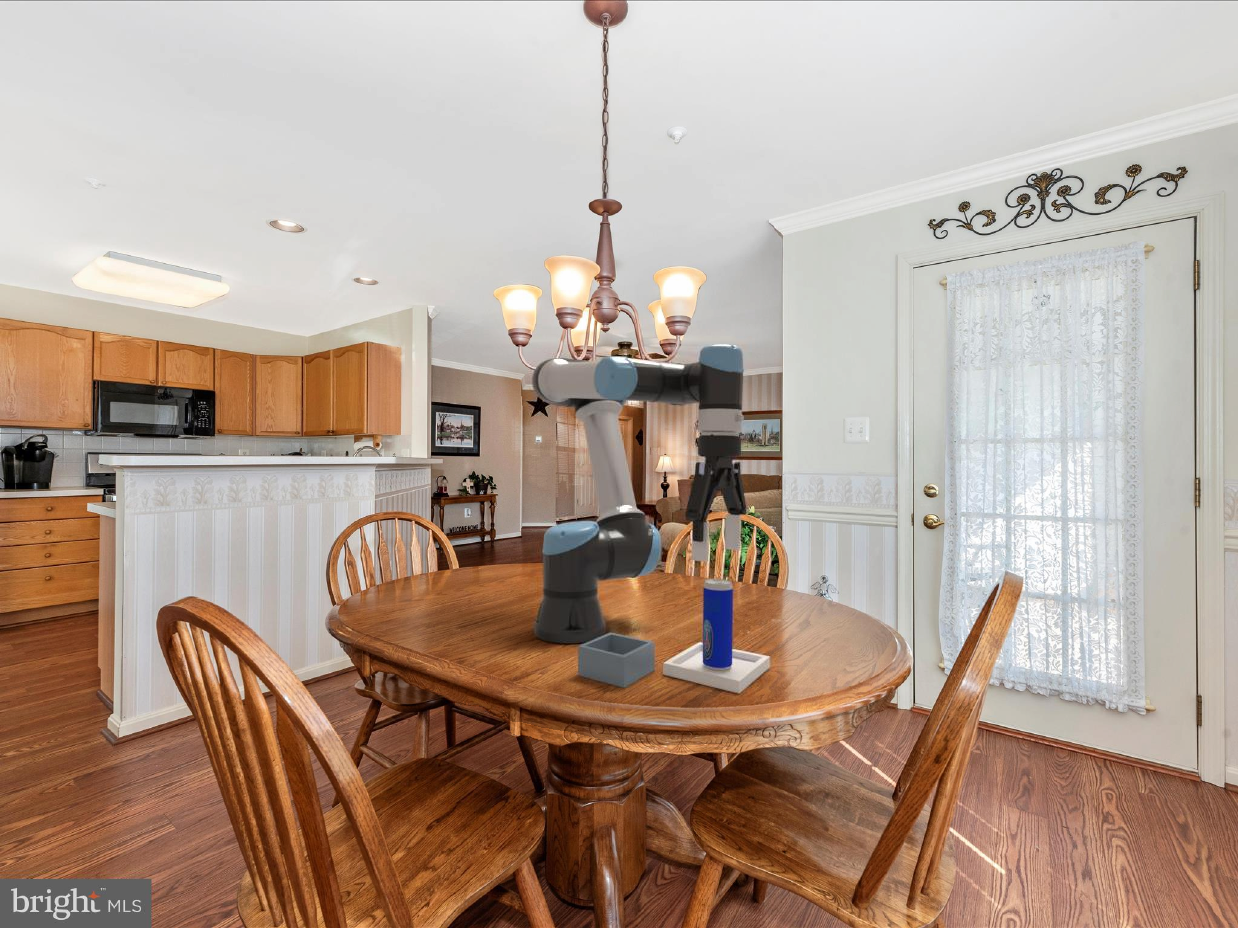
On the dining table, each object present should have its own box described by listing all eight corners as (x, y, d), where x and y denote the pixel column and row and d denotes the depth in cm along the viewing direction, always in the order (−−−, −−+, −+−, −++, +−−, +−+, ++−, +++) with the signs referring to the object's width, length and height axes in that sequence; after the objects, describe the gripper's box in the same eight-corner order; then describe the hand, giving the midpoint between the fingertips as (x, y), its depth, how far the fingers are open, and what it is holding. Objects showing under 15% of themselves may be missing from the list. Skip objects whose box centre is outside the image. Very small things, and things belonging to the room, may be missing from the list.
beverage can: (699, 661, 104) (700, 578, 104) (727, 660, 104) (728, 578, 104) (706, 671, 99) (707, 584, 99) (735, 671, 99) (736, 584, 99)
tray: (663, 674, 100) (663, 662, 100) (699, 652, 111) (699, 641, 111) (739, 693, 92) (739, 680, 92) (769, 667, 103) (769, 656, 103)
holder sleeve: (577, 675, 99) (578, 646, 99) (610, 659, 107) (610, 632, 107) (624, 687, 94) (624, 657, 94) (654, 670, 101) (654, 642, 101)
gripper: (708, 432, 89) (705, 569, 89) (765, 436, 109) (762, 547, 110) (665, 432, 93) (663, 562, 93) (728, 436, 113) (726, 543, 114)
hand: (717, 555), depth 102 cm, fingers open, 13 cm apart
